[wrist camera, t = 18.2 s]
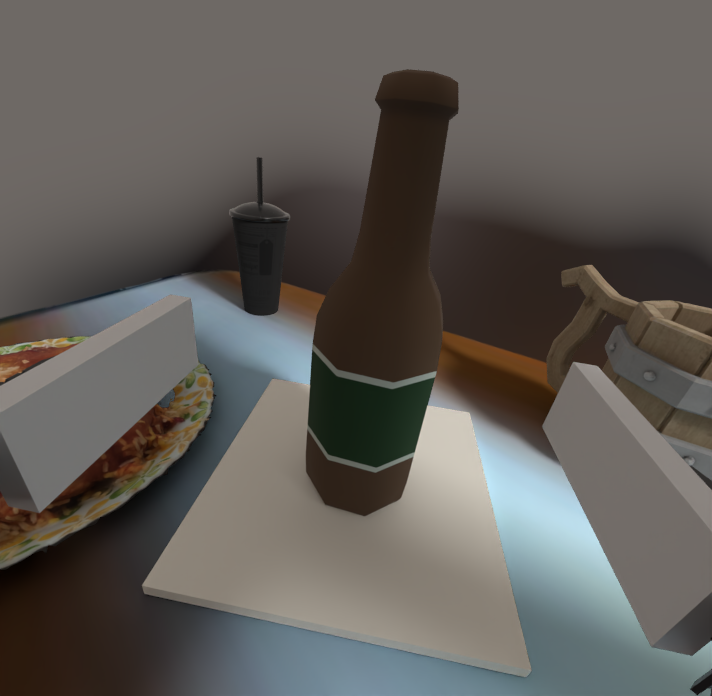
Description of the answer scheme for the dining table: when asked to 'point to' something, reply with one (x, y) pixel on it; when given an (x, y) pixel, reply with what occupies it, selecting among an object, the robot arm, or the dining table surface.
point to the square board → (351, 545)
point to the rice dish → (103, 458)
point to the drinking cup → (260, 250)
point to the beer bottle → (383, 310)
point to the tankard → (648, 361)
